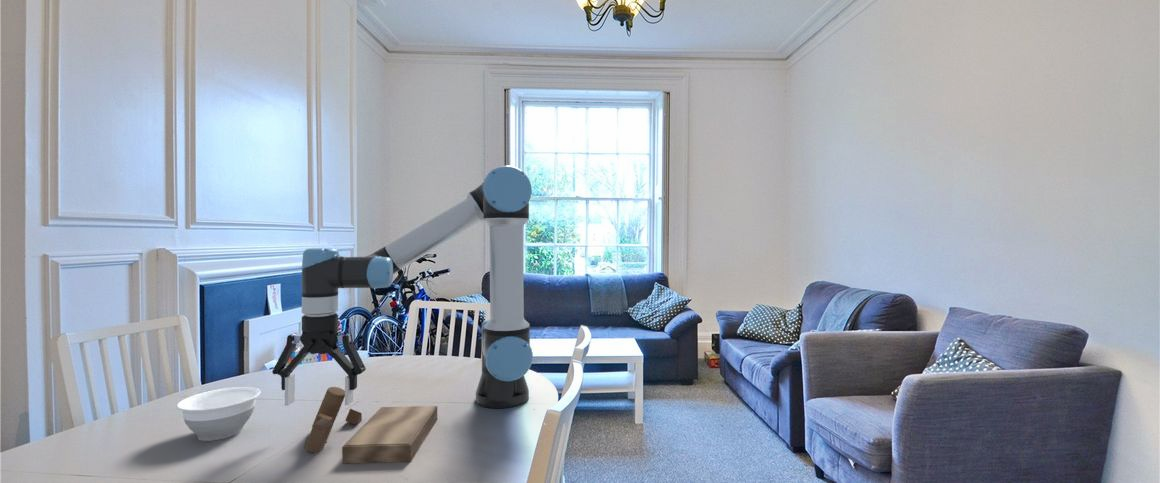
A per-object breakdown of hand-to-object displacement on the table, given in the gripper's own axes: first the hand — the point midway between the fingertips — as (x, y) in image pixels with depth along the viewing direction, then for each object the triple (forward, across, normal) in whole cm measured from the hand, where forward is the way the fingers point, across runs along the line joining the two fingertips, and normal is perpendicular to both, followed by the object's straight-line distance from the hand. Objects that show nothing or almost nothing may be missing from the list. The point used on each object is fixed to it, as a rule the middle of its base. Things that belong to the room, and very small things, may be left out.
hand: (319, 403), depth 110 cm
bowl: (+8, +24, -3) cm, 26 cm away
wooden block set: (+8, -2, 0) cm, 8 cm away
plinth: (+7, -18, +3) cm, 20 cm away
